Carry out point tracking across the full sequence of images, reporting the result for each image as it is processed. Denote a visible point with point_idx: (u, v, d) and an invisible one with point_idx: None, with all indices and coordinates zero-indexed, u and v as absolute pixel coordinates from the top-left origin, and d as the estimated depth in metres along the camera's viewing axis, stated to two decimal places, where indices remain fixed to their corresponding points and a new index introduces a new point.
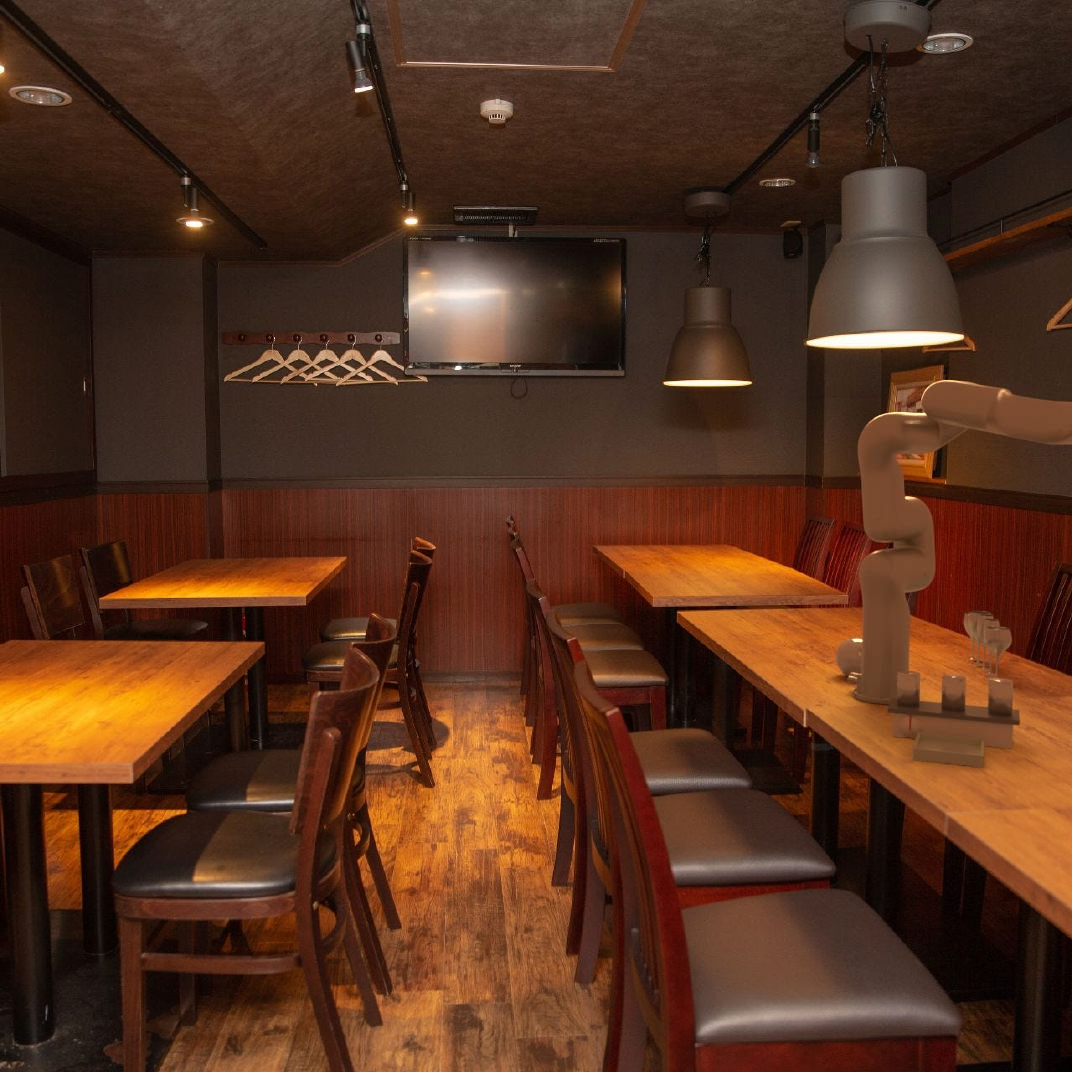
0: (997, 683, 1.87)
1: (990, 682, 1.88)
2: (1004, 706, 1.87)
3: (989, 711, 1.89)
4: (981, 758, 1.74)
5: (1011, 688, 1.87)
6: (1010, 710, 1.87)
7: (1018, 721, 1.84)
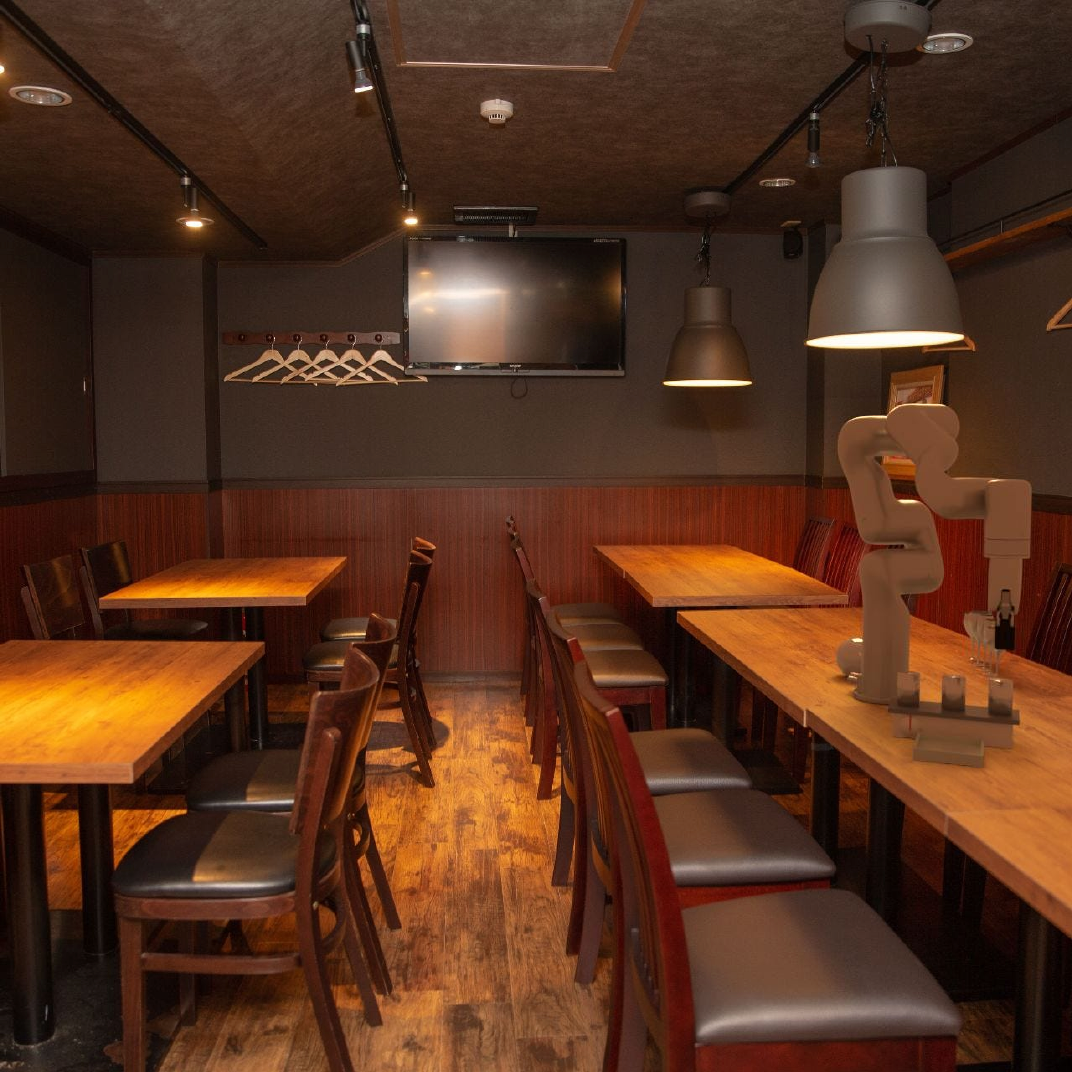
0: (997, 683, 1.87)
1: (990, 682, 1.88)
2: (1004, 706, 1.87)
3: (989, 711, 1.89)
4: (981, 758, 1.74)
5: (1011, 688, 1.87)
6: (1010, 710, 1.87)
7: (1018, 721, 1.84)
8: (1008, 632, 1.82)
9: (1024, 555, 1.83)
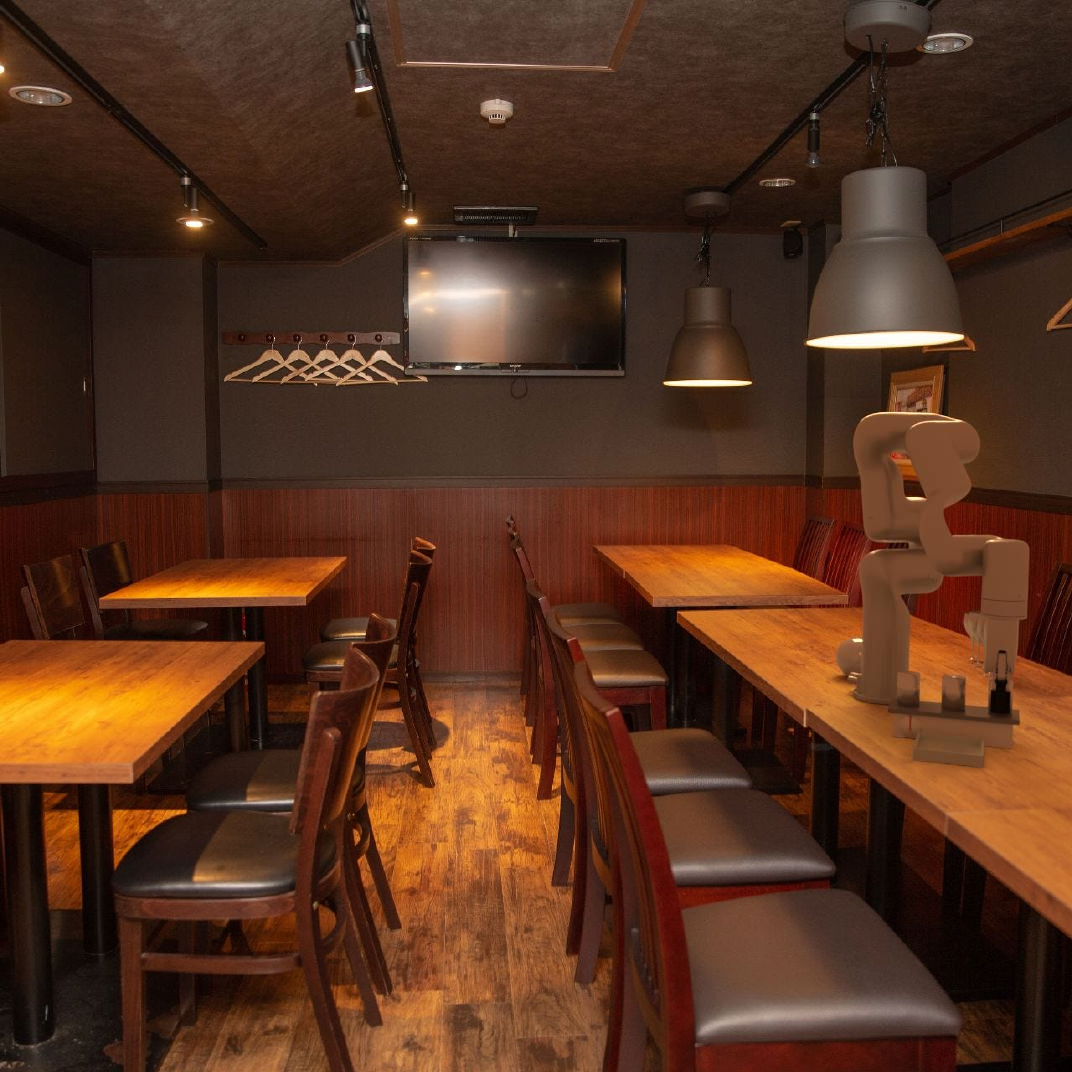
0: None
1: (990, 682, 1.88)
2: None
3: (989, 711, 1.89)
4: (981, 758, 1.74)
5: (1011, 688, 1.87)
6: (1010, 710, 1.87)
7: (1018, 721, 1.84)
8: (1004, 697, 1.85)
9: (1021, 616, 1.84)
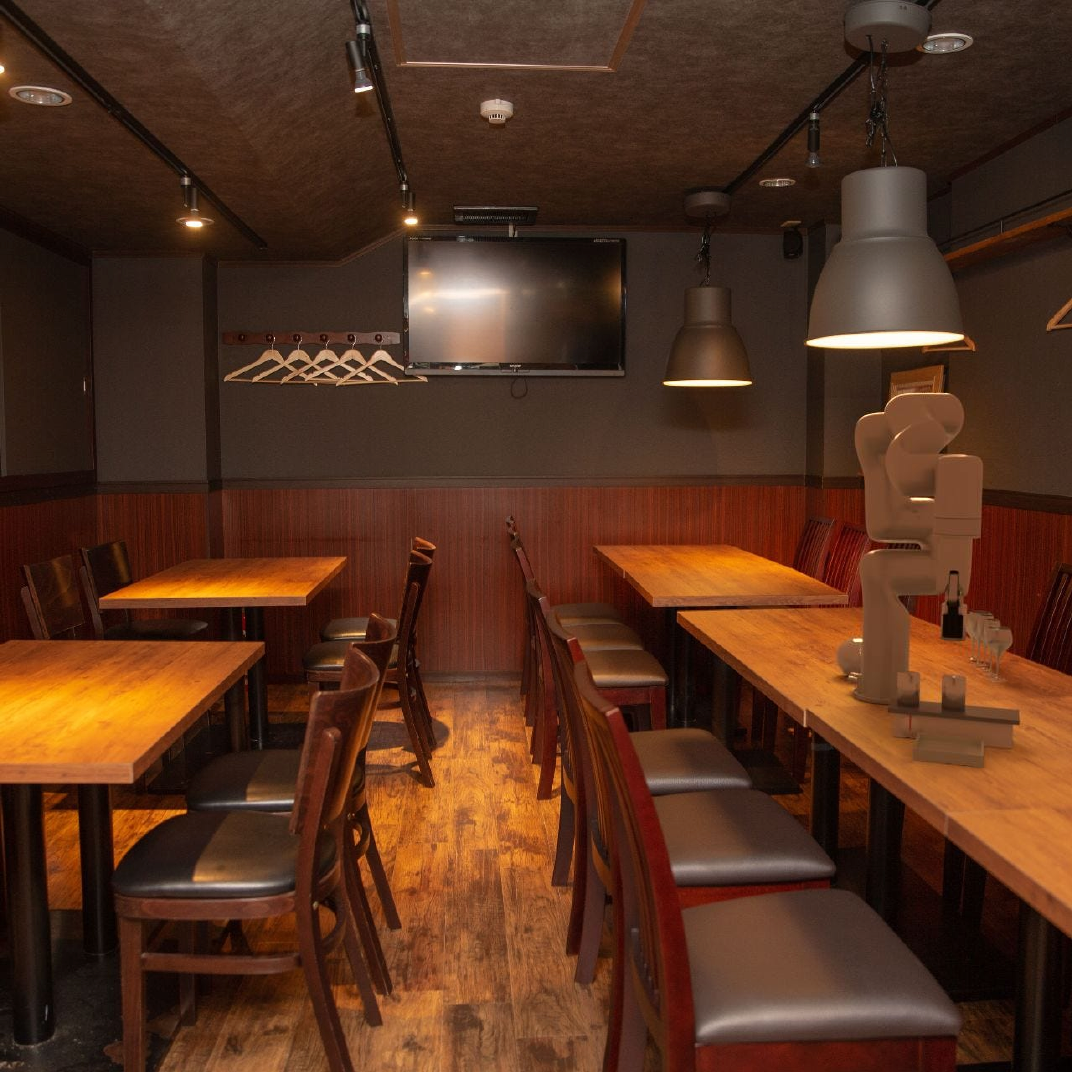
0: None
1: (943, 606, 1.79)
2: None
3: (942, 637, 1.80)
4: (981, 758, 1.74)
5: (965, 612, 1.78)
6: (963, 634, 1.78)
7: (1018, 721, 1.84)
8: (956, 620, 1.76)
9: (974, 535, 1.75)
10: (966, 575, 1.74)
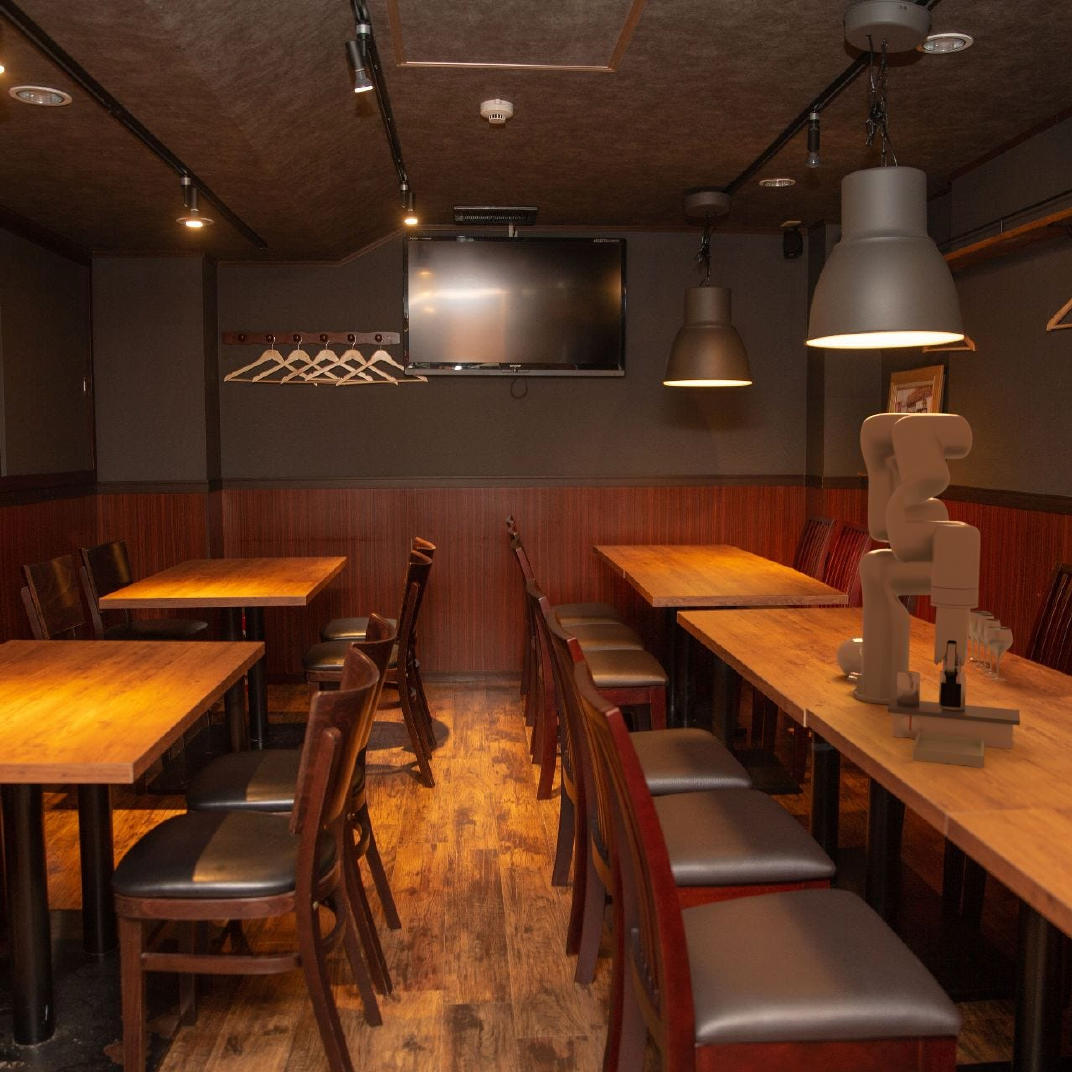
0: None
1: (941, 674, 1.80)
2: None
3: None
4: (981, 758, 1.74)
5: (962, 680, 1.79)
6: (961, 703, 1.79)
7: (1018, 721, 1.84)
8: (954, 689, 1.77)
9: (971, 605, 1.76)
10: (964, 645, 1.75)
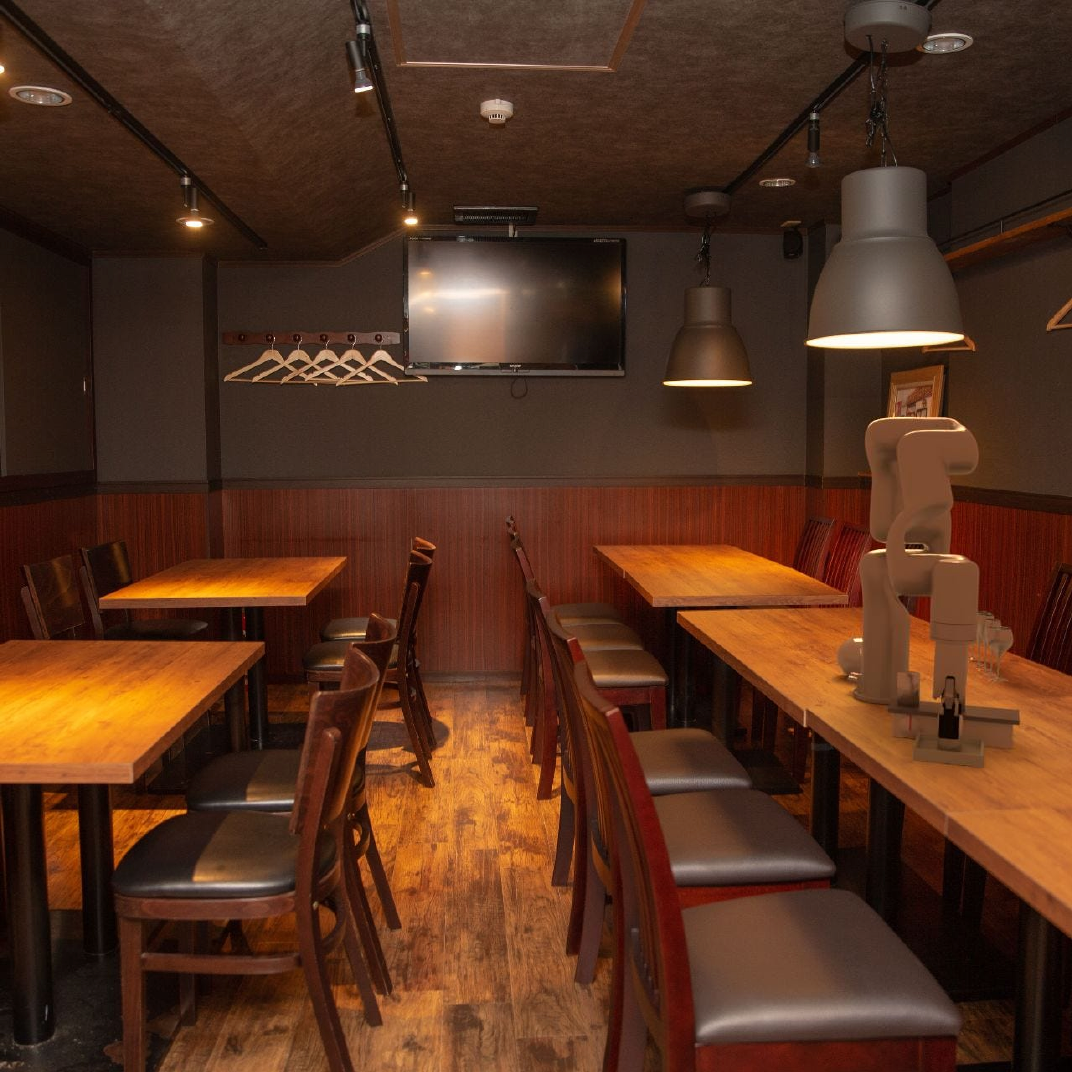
0: None
1: None
2: (953, 743, 1.79)
3: (938, 747, 1.81)
4: (981, 758, 1.74)
5: (960, 723, 1.79)
6: (959, 746, 1.80)
7: (1018, 721, 1.84)
8: (952, 721, 1.76)
9: (970, 640, 1.76)
10: (962, 681, 1.75)
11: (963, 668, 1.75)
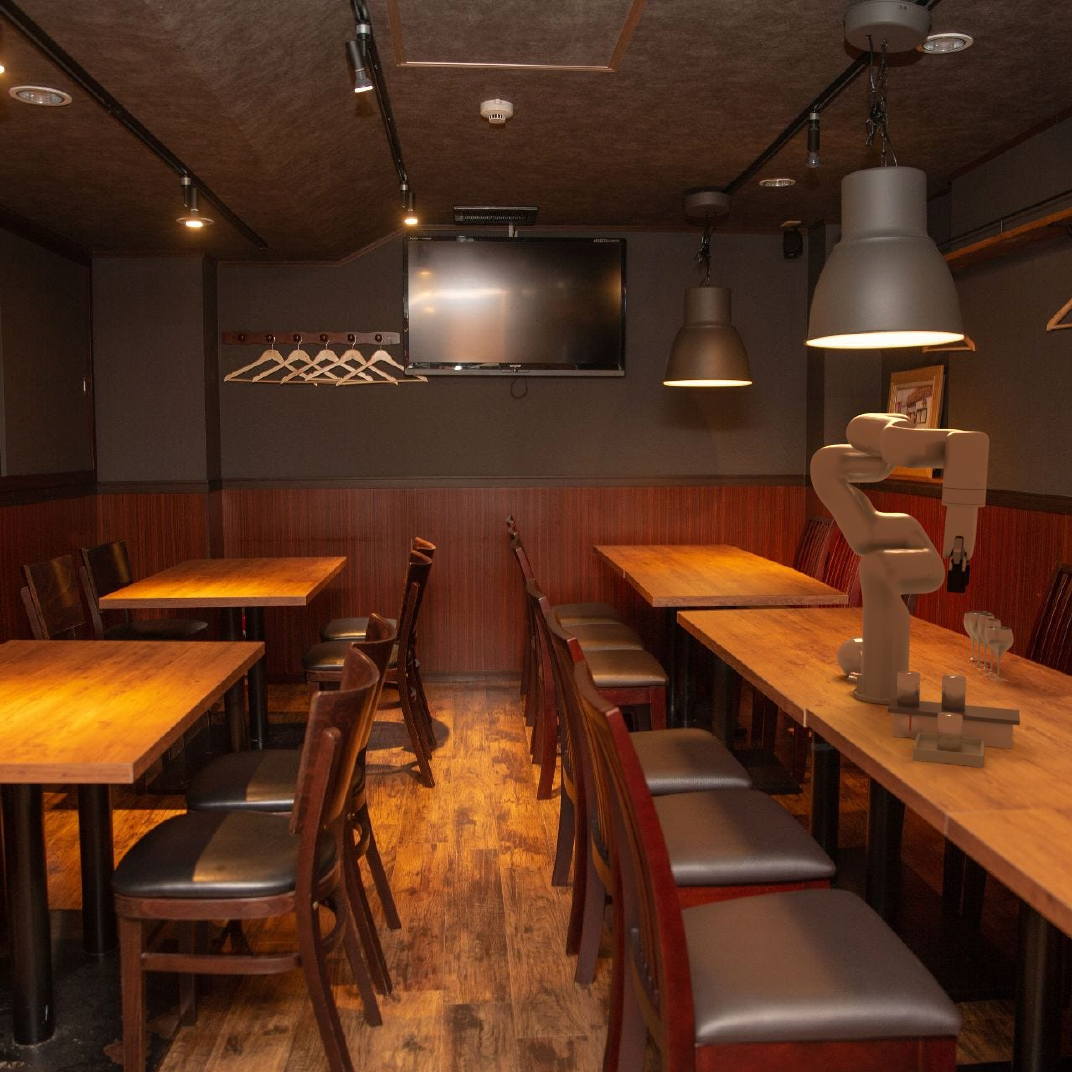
0: (946, 718, 1.79)
1: (939, 717, 1.81)
2: (953, 743, 1.79)
3: (938, 747, 1.81)
4: (981, 758, 1.74)
5: (960, 723, 1.79)
6: (959, 746, 1.80)
7: (1018, 721, 1.84)
8: (959, 576, 1.93)
9: (979, 504, 1.93)
10: (970, 540, 1.92)
11: (971, 529, 1.92)
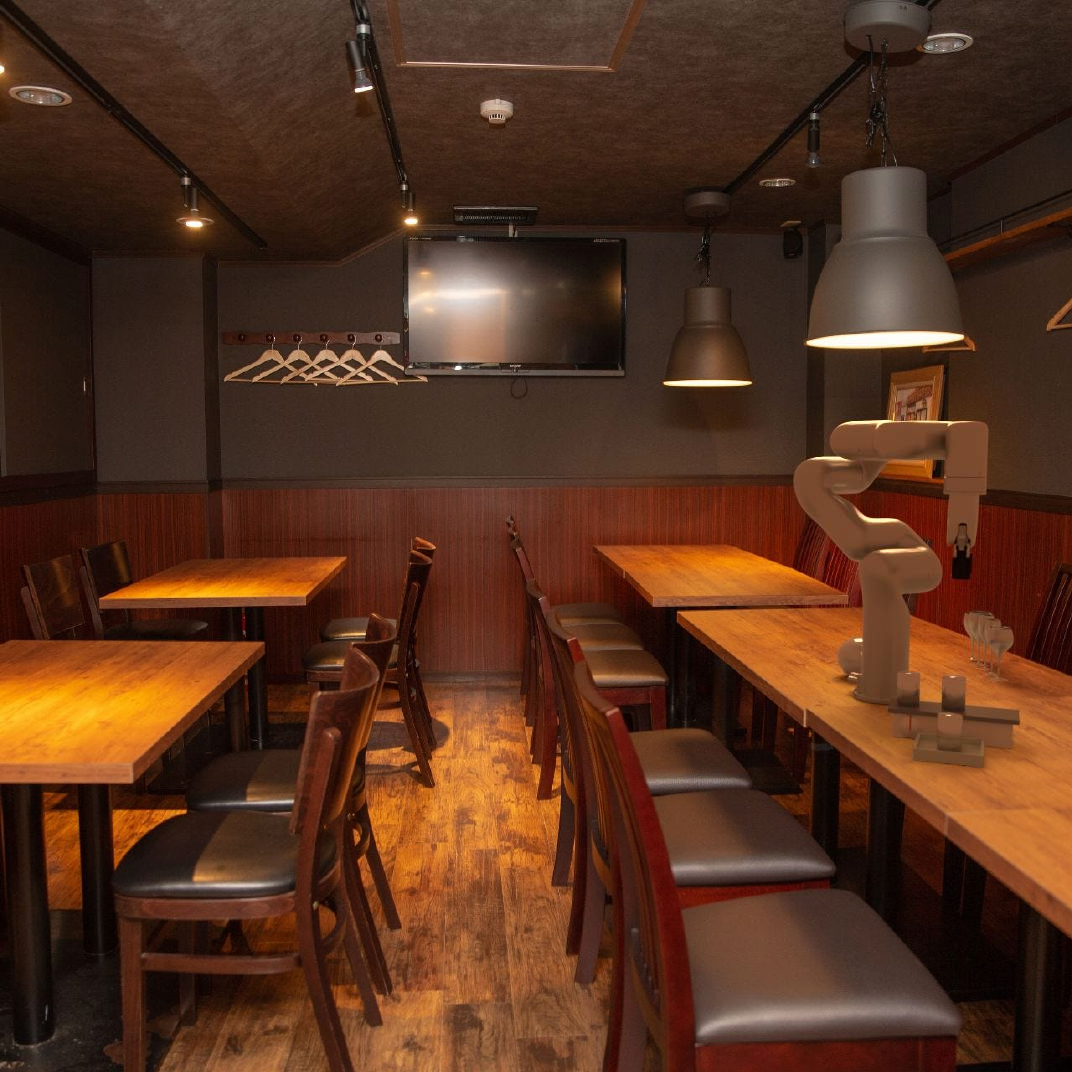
0: (946, 718, 1.79)
1: (939, 717, 1.81)
2: (953, 743, 1.79)
3: (938, 747, 1.81)
4: (981, 758, 1.74)
5: (960, 723, 1.79)
6: (959, 746, 1.80)
7: (1018, 721, 1.84)
8: (964, 563, 1.96)
9: (980, 492, 1.97)
10: (973, 527, 1.96)
11: (974, 516, 1.96)
